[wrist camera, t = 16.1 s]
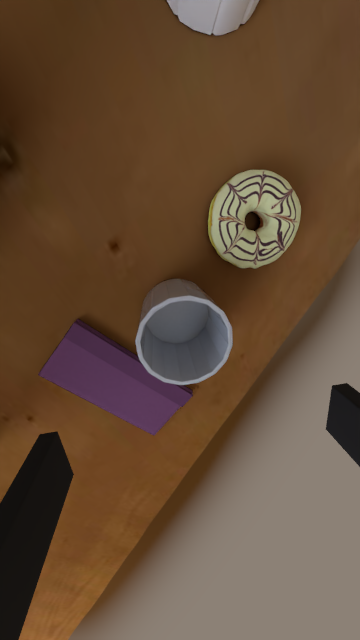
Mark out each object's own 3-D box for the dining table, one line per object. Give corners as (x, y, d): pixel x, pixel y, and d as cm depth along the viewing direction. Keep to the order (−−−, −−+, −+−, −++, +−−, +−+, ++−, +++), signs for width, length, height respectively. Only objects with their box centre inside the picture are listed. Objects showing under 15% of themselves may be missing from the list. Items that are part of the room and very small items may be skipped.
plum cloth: (154, 432, 39) (154, 438, 37) (40, 371, 33) (35, 377, 32) (192, 389, 37) (193, 395, 35) (77, 318, 31) (74, 321, 30)
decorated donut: (281, 265, 32) (297, 269, 28) (203, 265, 30) (209, 269, 27) (294, 177, 28) (314, 169, 25) (207, 174, 27) (215, 164, 23)
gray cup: (147, 348, 34) (144, 391, 24) (136, 283, 30) (127, 303, 21) (212, 339, 34) (234, 377, 25) (207, 274, 31) (230, 289, 22)
